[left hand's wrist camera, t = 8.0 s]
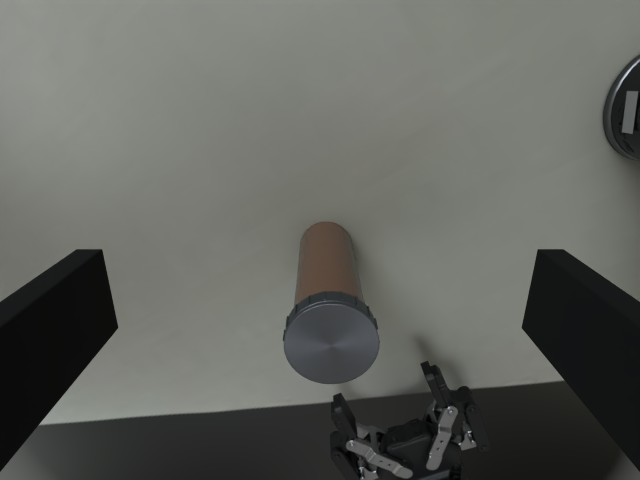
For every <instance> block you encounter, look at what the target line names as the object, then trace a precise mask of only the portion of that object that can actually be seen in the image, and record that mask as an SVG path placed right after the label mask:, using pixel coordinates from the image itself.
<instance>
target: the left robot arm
mask: <svg viewBox="0 0 640 480" xmlns="http://www.w3.org/2000/svg"><path fill="white" fill-rule="evenodd" d="M117 329H118V324H117V319H116V314H115V310H114V305H113V300H112V295H111V290H110V285H109V280H108V276H107V271H106V266H105V261H104V256H103V251H102V249H77V250H75V251H74V252H72V253H71V254H69V255H68V256H66V257H65V258H64V259H62V260H61V261H59V262H58V263H56V264H55V265H53V266H52V267H50V268H49V269H48V270H46V271H45V272H43V273H42V274H40V275H39V276H37V277H36V278H34V279H33V280H32V281H30V282H29V283H27V284H26V285H24V286H23V287H21V288H20V289H18V290H17V291H16V292H14V293H13V294H11V295H10V296H8V297H7V298H5V299H4V300H2V301H1V302H0V471H1V470H2V469H3V468H4V466H5V465H6V464H7V463H8V462H9V460H10V459H11V458H12V457H13V455H14V454H15V453H16V452H17V451H18V449H19V448H20V447H21V446H22V445H23V443H24V442H25V441H26V440H27V438H28V437H29V436H30V435H31V434H32V432H33V431H34V430H35V429H36V427H37V426H38V425H39V424H40V423H41V421H42V420H43V419H44V418H45V417H46V415H47V414H48V413H49V412H50V410H51V409H52V408H53V407H54V406H55V404H56V403H57V402H58V401H59V399H60V398H61V397H62V396H63V395H64V393H65V392H66V391H67V390H68V388H69V387H70V386H71V385H72V384H73V382H74V381H75V380H76V379H77V378H78V376H79V375H80V374H81V373H82V371H83V370H84V369H85V368H86V367H87V365H88V364H89V363H90V362H91V360H92V359H93V358H94V357H95V356H96V354H97V353H98V352H99V351H100V349H101V348H102V347H103V346H104V345H105V343H106V342H107V341H108V340H109V339H110V337H111V336H112V335H113V334H114V332H115V331H116V330H117ZM522 329H523V330H524V331H525V332H526V334H527V335H528V336H529V337H530V339H531V340H532V341H533V342H534V343H535V345H536V346H537V347H538V348H539V349H540V351H541V352H542V353H543V354H544V356H545V357H546V358H547V359H548V360H549V362H550V363H551V364H552V365H553V367H554V368H555V369H556V370H557V371H558V373H559V374H560V375H561V376H562V378H563V379H564V380H565V381H566V382H567V384H568V385H569V386H570V387H571V388H572V390H573V391H574V392H575V393H576V395H577V396H578V397H579V398H580V399H581V401H582V402H583V403H584V404H585V406H586V407H587V408H588V409H589V410H590V412H591V413H592V414H593V415H594V417H595V418H596V419H597V420H598V421H599V423H600V424H601V425H602V426H603V427H604V429H605V430H606V431H607V432H608V434H609V435H610V436H611V437H612V438H613V440H614V441H615V442H616V443H617V445H618V446H619V447H620V448H621V449H622V451H623V452H624V453H625V454H626V456H627V457H628V458H629V459H630V460H631V462H632V463H633V464H634V465H635V466H636V468H637V469H638V470H639V471H640V302H639V301H638V300H636V299H635V298H633V297H632V296H630V295H629V294H627V293H626V292H624V291H623V290H622V289H620V288H619V287H617V286H616V285H614V284H613V283H611V282H610V281H608V280H607V279H606V278H604V277H603V276H601V275H600V274H598V273H597V272H595V271H594V270H592V269H591V268H590V267H588V266H587V265H585V264H584V263H582V262H581V261H579V260H578V259H576V258H575V257H574V256H572V255H571V254H569V253H568V252H566V251H565V250H563V249H538V251H537V256H536V261H535V266H534V271H533V276H532V280H531V285H530V290H529V295H528V300H527V305H526V310H525V314H524V319H523V324H522Z"/></svg>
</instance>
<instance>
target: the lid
mask: <svg viewBox="0 0 640 480" xmlns="http://www.w3.org/2000/svg"><path fill="white" fill-rule="evenodd" d="M377 329H378V326H377V322H376V318H374V317H373V314H372V313H371V311H370V309H369V306H366V305H365V304H364V303H363V302H362V301H361V300H359V299H358V298H357V296H356V297H354V296H352V295H350V294H347V293H343V292H342V291H340V292H337V291H326V292H325V291H324V292H320V293H316V294H313V295H311V296H310V295H308V297H307V298H305V299H303V300H302V301H301V302H299V303H298V304H295V307H294V308H293V310H292V311H291V313H290V315H289V316H287V320H286V329H285V330H284V335H283V341H284V351H285V355H286V358H287V360H288V362H289V363H290V365H291V366H292V367H293V368H294V370H295V371H296V372H298V373H299V374H300V375H302V376H303V377H305V378H307V379H309V380H311V381H314V382H318V383H323V384H339V383H344V382H348V381H351V380H353V379H355V378H357V377H359V376H360V375H362V374H363V373H364V372H366V371H367V370H368V369H369V368H370V367H371V365H372V364H373V362H374V361H375V359H376V357H377V354H378V350H379V343H380V341H379V336H378V332H377Z"/></svg>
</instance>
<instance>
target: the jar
mask: <svg viewBox="0 0 640 480" xmlns="http://www.w3.org/2000/svg"><path fill="white" fill-rule="evenodd" d="M324 291H325V292H326V291H337V292H340V291H342V292H343V293H347V294H350V295H352V296H354V297H356V296H357V298H358V299H359V300H361V301H362V302H363V303H364V304H365V301H364V297H363V292H362V287H361V283H360V278H359V273H358V269H357V264H356V260H355V255H354V250H353V246H352V241H351V238H350V236H349V234H348V232H347V231H346V230H345V229H344V228H343V227H341V226H340V225H338V224H335V223H331V222H321V223H317V224H315V225H313V226H311V227H310V228H309V229H308V230H307V231H306V232H305V233H304V235H303V236H302V239H301V243H300V252H299V262H298V272H297V281H296V291H295V301H294V307H295V304H298V303H299V302H301V301H302V300H303V299H305V298H307V297H308V295H310V296H311V295H313V294H316V293H320V292H324Z"/></svg>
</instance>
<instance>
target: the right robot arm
mask: <svg viewBox="0 0 640 480" xmlns="http://www.w3.org/2000/svg"><path fill="white" fill-rule="evenodd" d="M604 128H605V132H606V135H607V138H608V140H609V142H610V143H611V145H612V146H613V147H614V148H615V149H616V150H617V151H618V152H619V153H620V154H622V155H623V156H625V157H627V158H630V159H633V160H637V161H640V55H639V56H637V57H636V58H635V59H634V60H632V61H631V62H630V63H629V64H628V65H627V66H626V67H625V68H624V70H623V71H622V72H621V73H620V75H619V76H618V77H617V79H616V80H615V82H614V84H613V86H612V87H611V90H610V92H609V94H608V97H607V100H606V104H605V109H604ZM421 367H422V369H423V372H424V375H425V377H426V380H427V382H428V384H429V387H430V389H431V391H432V393H433V396H434V401H433V403H432V405H429V406H428V408H427V411H426V413H425V415H424V418H423V420H418V418H417V419H414V420H411V421H409V422H407V423H406V424H404V425H399V426H394V427H391V428H388V432H387V431H385V430H382V429H380V428H378V427H375V426H373V425H370V426H369V427H366V426H364V425H361V424H359V423H356V422H355V417H354V416H353V414H352V412H351V410H350V408H349V406H348V405H347V403H346V401H345V399H344V397H343V396H342V394H341V393H339V394H336V395H334V396H333V400H334V402H331V414H332V420H333V422H334V423H335V425H336V427H337V429H338V430H339V432H338V431H334V432H332V433H331V434H330V448H331V459H332V460H333V462H334V463H335V465H336V466H337V467H338V469H339V470H340V472H341V473H342V474H343V476H344V477H345V479H346V480H374V479H377V478H380V479H381V480H470V479H469V477H468V475H467V472H466V470H465V468H464V466H463V463H462V461H461V459H460V456H461V451H462V450H466V449H470V448H473V447H477V448H478V450H479V452H481V453H486V452H488V451H489V450H490V449H491V445H490V442H489V439H488V435H487V432H486V429H485V426H484V422H483V419H482V416H481V412H480V409H479V407H478V405H477V403H476V402H475V400H474V398H473V396H472V393H471V391H470V389H469V388H468V387H467V386H462V387H460V388H459V389H458V390H457V391H452V390H449V389H448V387H447V385H446V383H445V381H444V378H443V376H442V374H441V371H440V369H439V367H437V366H436V365H433V366H430V365H429V363H428V361H426V362H423V363H421ZM459 412H464V415H465V418H466V421H464V422H463V423H462V424H463V426H462V428H461V434H460V435H458V436H455V435H454V434H453V433H452V431H451V427H452V425H453V422H454V420H455V418H456V416H457V413H459ZM358 438H360V439H362V440H363V441H362V440H360V439H358ZM378 442H379V443H380V446H379V447H378ZM354 452H355V453H357V454H360V455H362V456H364V457H365V458H366V460H367V461H368V462H369V463H371V464H368V463H367V462H366V461H364V460H363V458H362V457H361V456H359V457H357V456H356V454H355V453H354Z"/></svg>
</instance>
